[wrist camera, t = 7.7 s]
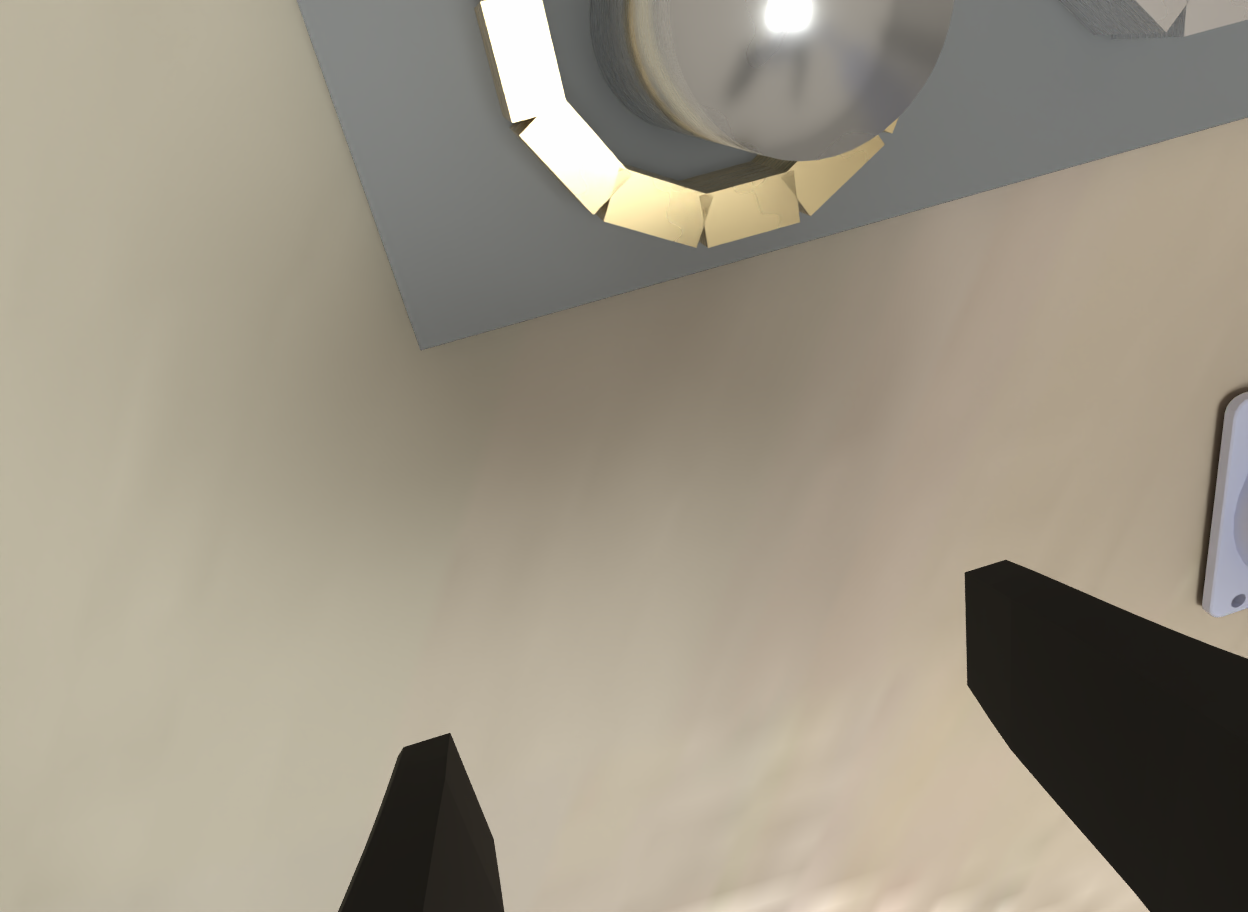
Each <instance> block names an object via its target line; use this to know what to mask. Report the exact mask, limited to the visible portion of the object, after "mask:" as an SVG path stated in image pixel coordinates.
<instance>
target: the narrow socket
mask: <svg viewBox="0 0 1248 912" xmlns="http://www.w3.org/2000/svg"><path fill="white" fill-rule="evenodd" d="M1059 1H1060V2H1061V3H1062V4H1063V5H1064V6H1065V7H1066V8H1067V9H1068V10H1069V11H1070V12H1071V13H1072V14H1073V15H1074V16H1075V17H1076V18H1077V19H1078V20H1079V21H1080V22H1081V23H1082V24H1083V25H1084V26H1085V27H1086V28H1087V29H1088V30H1089V31H1090V32H1091V33H1092V34H1093V35H1111V39H1135V38H1163V37H1185V36H1189V35H1192V34H1196V33H1200V32H1203V31H1207V30H1211V29H1215V28H1218V27H1222V26H1226V25H1229V24H1233V23H1237V22H1240V21H1244V20H1248V0H1059Z"/></svg>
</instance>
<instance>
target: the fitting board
mask: <svg viewBox="0 0 1248 912" xmlns="http://www.w3.org/2000/svg"><path fill="white" fill-rule="evenodd" d="M481 1H485V0H297V2H298V5H299V8H300V11H301V14H302V16H303V19H304V22H305V25H306V28H307V31H308V33H309V36H310V39H311V42H312V45H313V48H314V50H315V53H316V56H317V59H318V62H319V65H320V67H321V70H322V73H323V76H324V79H325V82H326V84H327V87H328V90H329V93H330V96H331V99H332V101H333V104H334V107H335V110H336V113H337V115H338V118H339V121H340V124H341V127H342V130H343V132H344V135H345V138H346V141H347V144H348V147H349V149H350V152H351V155H352V158H353V161H354V164H355V166H356V169H357V172H358V175H359V178H360V181H361V183H362V186H363V189H364V192H365V195H366V197H367V200H368V203H369V206H370V209H371V212H372V214H373V217H374V220H375V223H376V226H377V229H378V231H379V234H380V237H381V240H382V243H383V246H384V248H385V251H386V254H387V257H388V260H389V263H390V265H391V268H392V271H393V274H394V277H395V280H396V282H397V285H398V288H399V291H400V294H401V296H402V299H403V302H404V305H405V308H406V311H407V313H408V316H409V319H410V322H411V325H412V328H413V330H414V333H415V336H416V339H417V342H418V345H419V347H420V350H424V349H427V348H431V347H435V346H438V345H442V344H445V343H449V342H452V341H456V340H459V339H463V338H466V337H470V336H474V335H477V334H481V333H484V332H488V331H491V330H495V329H498V328H502V327H506V326H509V325H513V324H516V323H520V322H523V321H527V320H530V319H534V318H537V317H541V316H545V315H548V314H552V313H555V312H559V311H562V310H566V309H569V308H573V307H577V306H580V305H584V304H587V303H591V302H594V301H598V300H601V299H605V298H608V297H612V296H616V295H619V294H623V293H626V292H630V291H633V290H637V289H640V288H644V287H648V286H651V285H655V284H658V283H662V282H665V281H669V280H672V279H676V278H679V277H683V276H687V275H690V274H694V273H697V272H701V271H704V270H708V269H711V268H715V267H718V266H722V265H726V264H729V263H733V262H736V261H740V260H743V259H747V258H750V257H754V256H758V255H761V254H765V253H768V252H772V251H775V250H779V249H782V248H786V247H789V246H793V245H797V244H800V243H804V242H807V241H811V240H814V239H818V238H821V237H825V236H829V235H832V234H836V233H839V232H843V231H846V230H850V229H853V228H857V227H860V226H864V225H868V224H871V223H875V222H878V221H882V220H885V219H889V218H892V217H896V216H900V215H903V214H907V213H910V212H914V211H917V210H921V209H924V208H928V207H931V206H935V205H939V204H942V203H946V202H949V201H953V200H956V199H960V198H963V197H967V196H971V195H974V194H978V193H981V192H985V191H988V190H992V189H995V188H999V187H1002V186H1006V185H1010V184H1013V183H1017V182H1020V181H1024V180H1027V179H1031V178H1034V177H1038V176H1041V175H1045V174H1049V173H1052V172H1056V171H1059V170H1063V169H1066V168H1070V167H1073V166H1077V165H1081V164H1084V163H1088V162H1091V161H1095V160H1098V159H1102V158H1105V157H1109V156H1112V155H1116V154H1120V153H1123V152H1127V151H1130V150H1134V149H1137V148H1141V147H1144V146H1148V145H1152V144H1155V143H1159V142H1162V141H1166V140H1169V139H1173V138H1176V137H1180V136H1183V135H1187V134H1191V133H1194V132H1198V131H1201V130H1205V129H1208V128H1212V127H1215V126H1219V125H1223V124H1226V123H1230V122H1233V121H1237V120H1240V119H1244V118H1247V117H1248V20H1244V21H1240V22H1237V23H1233V24H1229V25H1226V26H1222V27H1218V28H1215V29H1211V30H1207V31H1203V32H1200V33H1196V34H1192V35H1189V36H1185V37H1163V38H1135V39H1111V35H1093V34H1092V33H1091V32H1090V31H1089V30H1088V29H1087V28H1086V27H1085V26H1084V25H1083V24H1082V23H1081V22H1080V21H1079V20H1078V19H1077V18H1076V17H1075V16H1074V15H1073V14H1072V13H1071V12H1070V11H1069V10H1068V9H1067V8H1066V7H1065V6H1064V5H1063V4H1062V3H1061V2H1060V1H1059V0H954V6H953V11H952V16H951V20H950V25H949V29H948V32H947V35H946V39H945V42H944V45H943V48H942V50H941V53H940V55H939V57H938V59H937V62H936V64H935V66H934V68H933V70H932V72H931V74H930V75H929V77H928V79H927V81H926V83H925V84H924V86H923V87H922V89H921V90H920V92H919V93H918V94H917V96H916V97H915V99H914V100H913V101H912V103H911V104H910V105H909V106H908V107H907V108H906V110H905V111H904V112H903V113H902V114H901V115H900V116H899V118H898V120H897V123H896V125H895V128H894V130H893V133H886V132H881V133H880V134H878V135H879V137H880V138H881V140H882V141H883V143H884V144H885V145H884V146H883V147H882V148H881V149H880V150H879V151H878V152H877V153H876V154H875V155H874V156H873V157H872V158H871V159H870V160H868V161H867V162H866V163H865V164H864V165H863V166H862V167H861V168H860V169H859V170H858V171H857V172H856V173H855V174H854V175H853V176H852V177H851V178H850V179H849V180H848V181H847V182H846V183H845V184H844V185H842V186H841V187H840V188H839V189H838V190H837V191H836V192H835V193H834V194H833V195H832V196H831V197H830V198H829V199H828V200H827V201H826V202H825V203H824V204H823V205H822V206H821V207H820V208H819V209H818V210H817V211H815V212H814V213H813V214H812V215H811V216H809V215H806V214H804V213H801V212H799V217H800V222H799V223H796V224H792V225H789V226H785V227H781V228H778V229H774V230H771V231H767V232H764V233H760V234H756V235H753V236H749V237H746V238H742V239H739V240H735V241H731V242H728V243H724V244H721V245H717V246H713V247H710V248H708V247H706V246H705V245H703V244H701V243H700V242H698V245H697V248H695V247H691V246H688V245H684V244H681V243H677V242H674V241H670V240H667V239H663V238H660V237H656V236H653V235H649V234H646V233H642V232H639V231H636V230H632V229H629V228H625V227H622V226H618V225H615V224H611V223H608V222H604V221H603V220H602V219H601V218H599V217H598V216H597V215H596V214H594V215H593V214H592V213H591V212H589V211H588V210H587V209H586V208H585V207H584V206H583V205H582V204H581V203H580V202H578V201H577V200H576V199H575V198H574V197H573V196H572V194H571V193H570V192H569V191H568V190H567V189H566V188H565V187H564V186H563V185H562V184H561V183H560V182H559V181H558V179H557V178H556V177H555V176H554V175H553V174H552V173H551V172H550V171H549V170H548V169H547V168H546V167H545V166H544V164H543V163H542V162H541V161H540V160H539V159H538V158H537V157H536V156H535V155H534V154H533V153H532V152H531V151H530V149H529V148H528V147H527V146H526V145H525V144H524V143H523V142H522V141H521V140H520V139H519V138H518V137H517V136H516V134H515V133H514V132H513V131H512V130H511V129H510V127H511V126H512V125H513V123H512V122H510V121H509V120H507V119H506V118H505V117H503V114H502V111H501V107H500V103H499V99H498V96H497V92H496V88H495V85H494V81H493V77H492V73H491V70H490V66H489V62H488V59H487V55H486V51H485V47H484V44H483V40H482V36H481V33H480V29H479V25H478V21H477V18H476V14H475V10H474V8H475V7H476V6H477V5H478V4H479V2H481ZM590 1H591V0H542V2H543V6H544V10H545V15H546V19H547V23H548V27H549V32H550V36H551V40H552V44H553V49H554V53H555V57H556V61H557V66H558V70H559V74H560V78H561V83H562V87H563V91H564V95H565V100H566V101H567V102H568V103H569V104H570V105H571V107H572V108H573V109H574V110H575V111H576V112H577V113H578V114H579V116H580V117H581V118H582V119H583V120H584V121H585V122H586V124H587V125H588V126H589V127H590V128H591V129H592V130H593V132H594V133H595V134H596V135H597V136H598V137H599V138H600V140H601V141H602V142H603V143H604V144H605V145H606V146H607V147H608V149H609V150H610V151H611V152H612V153H613V154H614V155H615V157H616V158H617V159H618V160H619V161H620V162H621V163H622V164H625V165H629V166H632V167H635V168H638V169H642V170H645V171H648V172H651V173H654V174H658V175H661V176H664V177H667V178H671V179H674V180H677V181H680V180H684V179H687V178H691V177H695V176H698V175H702V174H706V173H710V172H713V171H717V170H721V169H724V168H728V167H732V166H735V165H739V164H743V163H746V162H750V161H752V160H753V159H754V158H755V157H756V156H757V155H758V154H756V153H752V152H748V151H745V150H741V149H737V148H734V147H730V146H726V145H723V144H719V143H715V142H711V141H708V140H704V139H700V138H697V137H693V136H689V135H686V134H682V133H678V132H674V131H671V130H667V129H663V128H660V127H657V126H655V125H652V124H650V123H648V122H646V121H644V120H642V119H641V118H639V117H637V116H636V115H635V114H633V113H632V112H631V111H629V110H628V109H627V108H626V107H625V106H624V105H623V104H622V103H621V102H620V101H619V100H618V99H617V97H616V96H615V95H614V94H613V92H612V91H611V90H610V88H609V87H608V85H607V83H606V81H605V80H604V78H603V76H602V74H601V72H600V69H599V67H598V65H597V62H596V59H595V55H594V52H593V48H592V43H591V37H590V25H589V13H590Z"/></svg>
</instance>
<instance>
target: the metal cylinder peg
mask: <svg viewBox="0 0 1248 912" xmlns="http://www.w3.org/2000/svg"><path fill="white" fill-rule="evenodd" d="M953 6H954V0H591V1H590V13H589V25H590V37H591V43H592V48H593V52H594V55H595V59H596V62H597V65H598V67H599V69H600V72H601V74H602V76H603V78H604V80H605V81H606V83H607V85H608V87H609V88H610V90H611V91H612V92H613V94H614V95H615V96H616V97H617V99H618V100H619V101H620V102H621V103H622V104H623V105H624V106H625V107H626V108H627V109H628V110H629V111H631V112H632V113H633V114H635V115H636V116H637V117H639V118H641V119H642V120H644V121H646V122H648V123H650V124H652V125H655V126H657V127H660V128H663V129H667V130H671V131H674V132H678V133H682V134H686V135H689V136H693V137H697V138H700V139H704V140H708V141H711V142H715V143H719V144H723V145H726V146H730V147H734V148H737V149H741V150H745V151H748V152H752V153H756V154H760V155H763V156H767V157H772V158H776V159H780V160H788V161H812V160H820V159H825V158H829V157H834V156H837V155H840V154H843V153H845V152H848V151H851V150H853V149H855V148H857V147H859V146H860V145H862V144H864V143H866V142H868V141H870V140H871V139H872V138H874V137H875V136H877V135H878V134H880V133H881V132H882V131H884V130H885V129H886V128H887V127H888V126H889V125H891V124H892V123H893V122H894V121H895V120H896V119H897V118H898V117H899V116H900V115H901V114H902V113H903V112H904V111H905V110H906V108H907V107H908V106H909V105H910V104H911V103H912V101H913V100H914V99H915V97H916V96H917V94H918V93H919V92H920V90H921V89H922V87H923V86H924V84H925V83H926V81H927V79H928V77H929V75H930V74H931V72H932V70H933V68H934V66H935V64H936V62H937V59H938V57H939V55H940V53H941V50H942V48H943V45H944V42H945V39H946V35H947V32H948V29H949V25H950V20H951V16H952V11H953Z"/></svg>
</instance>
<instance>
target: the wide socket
mask: <svg viewBox="0 0 1248 912" xmlns="http://www.w3.org/2000/svg"><path fill="white" fill-rule="evenodd" d="M474 10H475V14H476V18H477V21H478V25H479V29H480V33H481V36H482V40H483V44H484V47H485V51H486V55H487V59H488V62H489V66H490V70H491V73H492V77H493V81H494V85H495V88H496V92H497V96H498V99H499V103H500V107H501V111H502V114H503V117H505V118H506V119H507V120H509V121H510V122H512V123H513V125H512V126H511V127H510V129H511V130H512V131H513V132H514V133H515V134H516V136H517V137H518V138H519V139H520V140H521V141H522V142H523V143H524V144H525V145H526V146H527V147H528V148H529V149H530V151H531V152H532V153H533V154H534V155H535V156H536V157H537V158H538V159H539V160H540V161H541V162H542V163H543V164H544V166H545V167H546V168H547V169H548V170H549V171H550V172H551V173H552V174H553V175H554V176H555V177H556V178H557V179H558V181H559V182H560V183H561V184H562V185H563V186H564V187H565V188H566V189H567V190H568V191H569V192H570V193H571V194H572V196H573V197H574V198H575V199H576V200H577V201H578V202H580V203H581V204H582V205H583V206H584V207H585V208H586V209H587V210H588V211H589V212H591V213H592V214H593V215H594V214H596V215H597V216H598V217H599V218H601V219H602V220H603V221H604V222H608V223H611V224H615V225H618V226H622V227H625V228H629V229H632V230H636V231H639V232H642V233H646V234H649V235H653V236H656V237H660V238H663V239H667V240H670V241H674V242H677V243H681V244H684V245H688V246H691V247H695V248H697V245H698V242H700V243H701V244H703V245H705V246H706V247H708V248H710V247H713V246H717V245H721V244H724V243H728V242H731V241H735V240H739V239H742V238H746V237H749V236H753V235H756V234H760V233H764V232H767V231H771V230H774V229H778V228H781V227H785V226H789V225H792V224H796V223H799V222H800V217H799V212H801V213H804V214H806V215H809V216H811V215H812V214H813V213H814V212H815V211H817V210H818V209H819V208H820V207H821V206H822V205H823V204H824V203H825V202H826V201H827V200H828V199H829V198H830V197H831V196H832V195H833V194H834V193H835V192H836V191H837V190H838V189H839V188H840V187H841V186H842V185H844V184H845V183H846V182H847V181H848V180H849V179H850V178H851V177H852V176H853V175H854V174H855V173H856V172H857V171H858V170H859V169H860V168H861V167H862V166H863V165H864V164H865V163H866V162H867V161H868V160H870V159H871V158H872V157H873V156H874V155H875V154H876V153H877V152H878V151H879V150H880V149H881V148H882V147H883V146H884V145H885V144H884V143H883V141H882V140H881V138H880V137H879V135H877V136H875V137H874V138H872V139H871V140H870V141H868V142H866V143H864V144H862V145H860V146H859V147H857V148H855V149H853V150H851V151H848V152H845V153H843V154H840V155H837V156H834V157H829V158H825V159H820V160H812V161H788V160H780V159H776V158H772V157H767V156H763V155H760V154H758V155H757V156H756V157H755V158H754V159H753V160H752V161H750V162H746V163H743V164H739V165H735V166H732V167H728V168H724V169H721V170H717V171H713V172H710V173H706V174H702V175H698V176H695V177H691V178H687V179H684V180H680V181H677V180H674V179H671V178H667V177H664V176H661V175H658V174H654V173H651V172H648V171H645V170H642V169H638V168H635V167H632V166H629V165H625V164H622V163H621V162H620V161H619V160H618V159H617V158H616V157H615V155H614V154H613V153H612V152H611V151H610V150H609V149H608V147H607V146H606V145H605V144H604V143H603V142H602V141H601V140H600V138H599V137H598V136H597V135H596V134H595V133H594V132H593V130H592V129H591V128H590V127H589V126H588V125H587V124H586V122H585V121H584V120H583V119H582V118H581V117H580V116H579V114H578V113H577V112H576V111H575V110H574V109H573V108H572V107H571V105H570V104H569V103H568V102H567V101H566V100H565V95H564V91H563V87H562V83H561V78H560V74H559V70H558V66H557V61H556V57H555V53H554V49H553V44H552V40H551V36H550V32H549V27H548V23H547V19H546V15H545V10H544V6H543V2H542V0H485V1H481V2H479V4H478V5H477V6H476V7H475V8H474ZM898 118H899V117H898ZM898 118H897V119H896V120H895V121H894V122H893V123H892V124H891V125H889V126H888V127H887V128H886V129H885V130H884V131H882V132H886V133H893V130H894V128H895V125H896V123H897V120H898Z"/></svg>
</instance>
